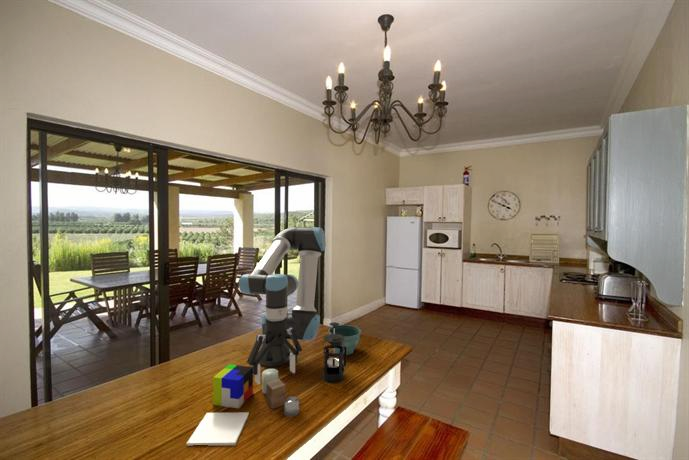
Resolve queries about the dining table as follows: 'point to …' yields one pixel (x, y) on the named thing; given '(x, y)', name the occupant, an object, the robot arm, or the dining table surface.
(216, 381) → the puzzle toy
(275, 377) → the pale green egg
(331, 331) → the flower pot
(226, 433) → the plate
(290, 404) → the grey tin
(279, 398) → the walnut block
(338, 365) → the french press
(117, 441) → the dining table surface
